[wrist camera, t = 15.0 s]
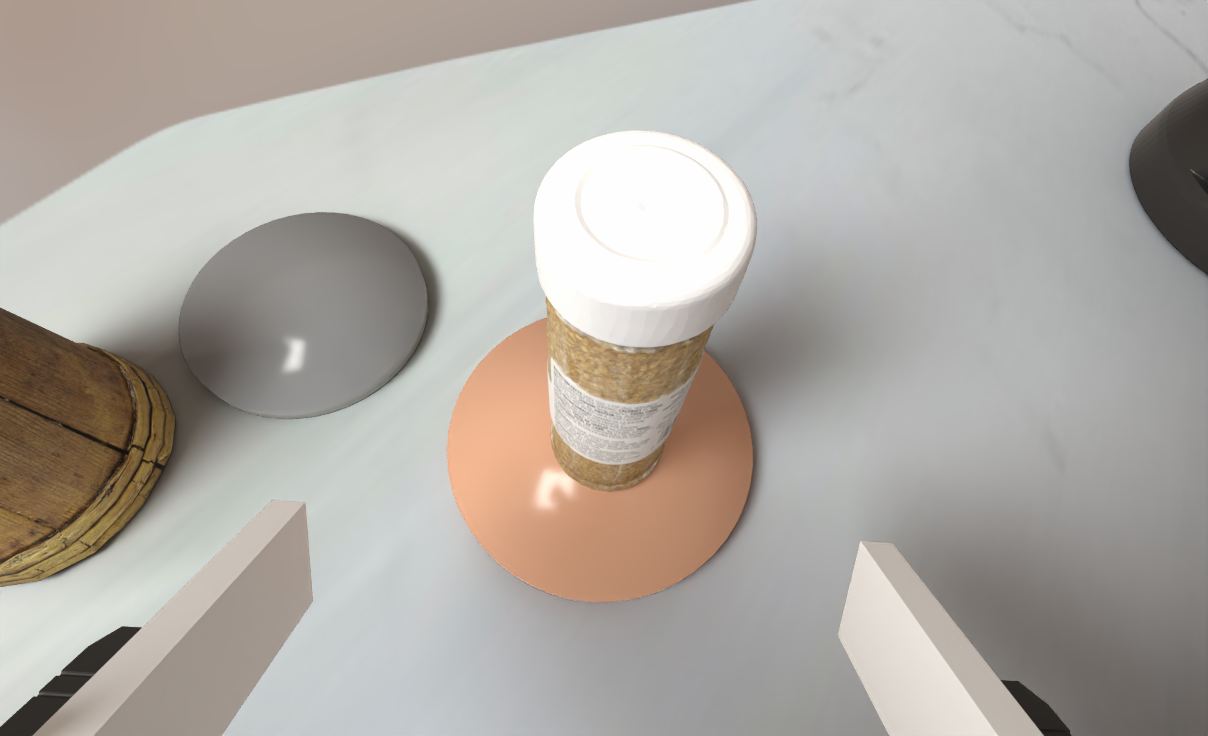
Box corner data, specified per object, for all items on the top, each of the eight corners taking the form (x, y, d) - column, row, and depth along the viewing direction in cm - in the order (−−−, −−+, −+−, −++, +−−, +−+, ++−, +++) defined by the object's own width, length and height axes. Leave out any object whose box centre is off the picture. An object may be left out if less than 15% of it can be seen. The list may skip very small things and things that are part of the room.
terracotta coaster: (784, 384, 26) (790, 376, 26) (684, 663, 21) (688, 663, 20) (537, 280, 28) (537, 270, 27) (390, 515, 23) (384, 509, 22)
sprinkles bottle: (595, 367, 25) (620, 89, 13) (686, 428, 24) (803, 188, 12) (525, 450, 24) (482, 216, 12) (621, 521, 22) (683, 344, 11)
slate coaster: (470, 272, 28) (467, 261, 27) (339, 459, 24) (332, 452, 23) (290, 195, 30) (283, 183, 29) (135, 358, 25) (123, 349, 24)
